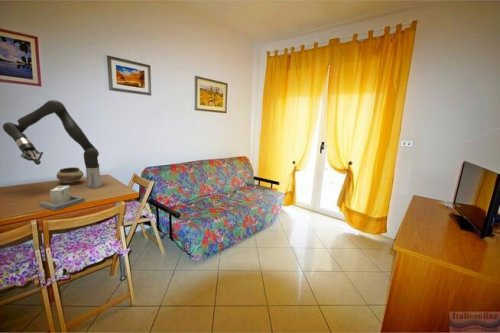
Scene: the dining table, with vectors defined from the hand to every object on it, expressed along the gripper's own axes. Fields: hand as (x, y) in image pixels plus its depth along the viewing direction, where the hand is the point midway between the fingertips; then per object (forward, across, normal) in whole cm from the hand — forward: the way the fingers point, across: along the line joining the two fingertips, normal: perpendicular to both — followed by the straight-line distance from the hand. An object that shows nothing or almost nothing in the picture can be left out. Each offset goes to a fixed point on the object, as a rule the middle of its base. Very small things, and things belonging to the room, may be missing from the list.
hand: (38, 163), depth 155 cm
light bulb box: (+35, -3, 0) cm, 35 cm away
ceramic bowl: (+7, +28, +28) cm, 40 cm away
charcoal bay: (+36, -4, -1) cm, 36 cm away
